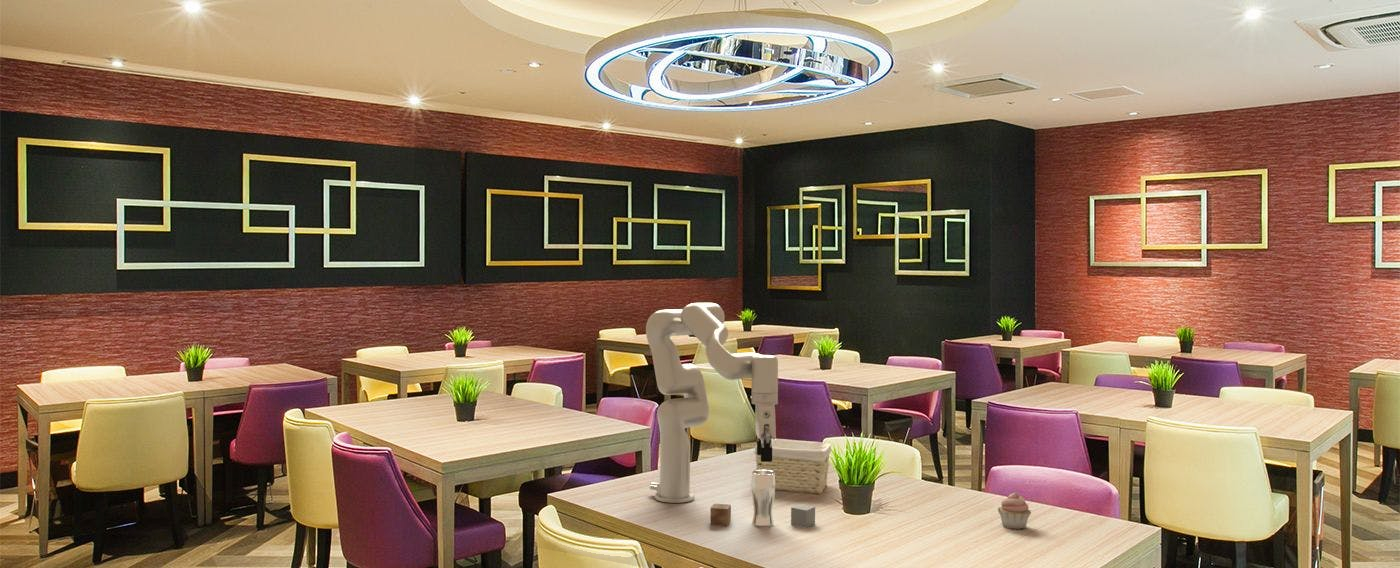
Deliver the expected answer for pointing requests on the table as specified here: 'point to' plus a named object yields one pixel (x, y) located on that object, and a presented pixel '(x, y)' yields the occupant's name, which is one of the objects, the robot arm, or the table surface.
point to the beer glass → (763, 497)
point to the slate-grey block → (802, 515)
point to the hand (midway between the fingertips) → (764, 458)
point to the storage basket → (798, 465)
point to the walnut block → (720, 514)
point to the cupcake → (1014, 512)
